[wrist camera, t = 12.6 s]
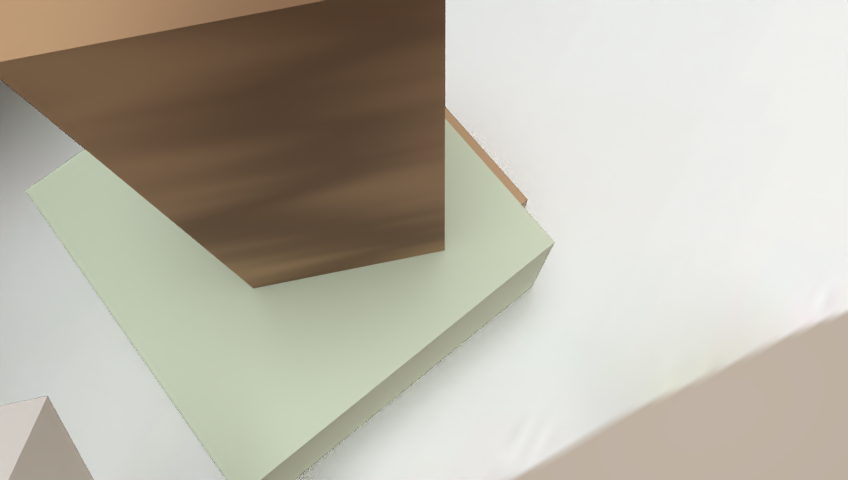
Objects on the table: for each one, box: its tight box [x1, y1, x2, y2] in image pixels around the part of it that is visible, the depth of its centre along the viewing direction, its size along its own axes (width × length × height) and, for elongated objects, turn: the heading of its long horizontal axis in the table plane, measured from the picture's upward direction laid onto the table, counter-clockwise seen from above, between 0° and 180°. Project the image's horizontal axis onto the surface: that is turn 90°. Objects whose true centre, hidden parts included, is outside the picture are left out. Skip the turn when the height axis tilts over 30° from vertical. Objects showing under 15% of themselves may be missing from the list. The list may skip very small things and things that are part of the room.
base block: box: [26, 107, 554, 480], centre depth 23 cm, size 10×10×6 cm
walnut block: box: [0, 0, 445, 288], centre depth 15 cm, size 5×5×12 cm
